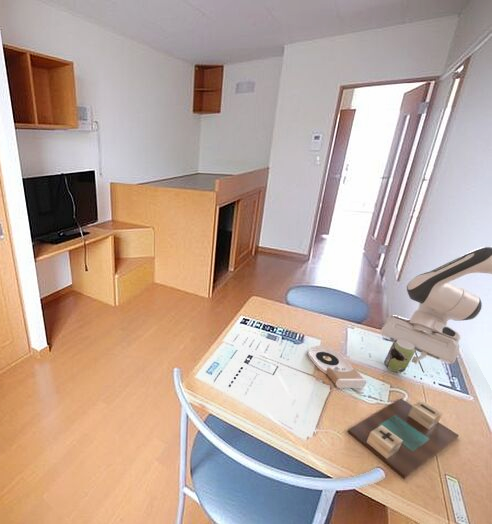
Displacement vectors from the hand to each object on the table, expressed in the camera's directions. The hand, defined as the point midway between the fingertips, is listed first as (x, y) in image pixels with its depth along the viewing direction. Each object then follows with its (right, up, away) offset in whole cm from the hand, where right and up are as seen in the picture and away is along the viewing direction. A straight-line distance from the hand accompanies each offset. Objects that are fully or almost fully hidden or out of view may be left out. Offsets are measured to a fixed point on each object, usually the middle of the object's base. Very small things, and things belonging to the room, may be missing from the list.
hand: (407, 359), depth 104 cm
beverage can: (-1, -5, +4) cm, 6 cm away
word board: (-19, -15, -20) cm, 31 cm away
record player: (-23, -4, +5) cm, 24 cm away
